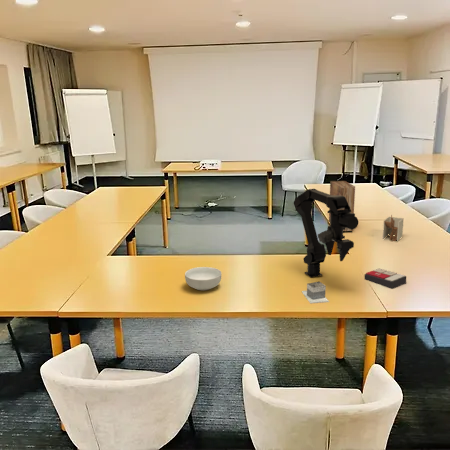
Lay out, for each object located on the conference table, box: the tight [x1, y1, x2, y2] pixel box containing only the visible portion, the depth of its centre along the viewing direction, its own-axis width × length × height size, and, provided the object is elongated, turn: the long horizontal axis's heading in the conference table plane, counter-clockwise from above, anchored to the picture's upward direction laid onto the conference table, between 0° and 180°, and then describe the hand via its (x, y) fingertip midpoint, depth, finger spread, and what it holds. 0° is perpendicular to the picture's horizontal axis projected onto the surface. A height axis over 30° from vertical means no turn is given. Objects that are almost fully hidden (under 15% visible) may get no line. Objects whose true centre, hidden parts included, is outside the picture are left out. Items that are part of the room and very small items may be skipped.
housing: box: [306, 281, 327, 300], centre depth 190 cm, size 6×5×6 cm
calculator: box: [364, 268, 407, 290], centre depth 206 cm, size 11×4×15 cm
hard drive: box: [301, 290, 330, 305], centre depth 192 cm, size 2×8×12 cm
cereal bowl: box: [184, 266, 222, 291], centre depth 204 cm, size 17×17×7 cm
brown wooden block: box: [328, 179, 356, 232], centre depth 294 cm, size 25×9×30 cm, turn 2°
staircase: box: [382, 214, 404, 242], centre depth 269 cm, size 9×11×17 cm
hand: (335, 258), depth 200 cm, fingers open, 9 cm apart
